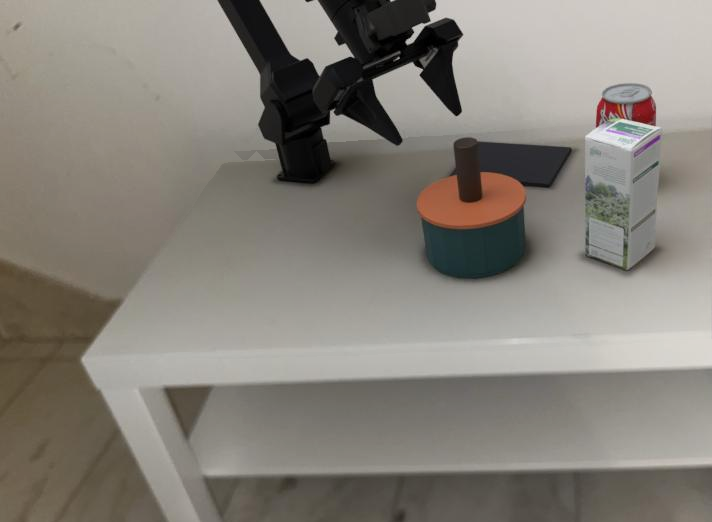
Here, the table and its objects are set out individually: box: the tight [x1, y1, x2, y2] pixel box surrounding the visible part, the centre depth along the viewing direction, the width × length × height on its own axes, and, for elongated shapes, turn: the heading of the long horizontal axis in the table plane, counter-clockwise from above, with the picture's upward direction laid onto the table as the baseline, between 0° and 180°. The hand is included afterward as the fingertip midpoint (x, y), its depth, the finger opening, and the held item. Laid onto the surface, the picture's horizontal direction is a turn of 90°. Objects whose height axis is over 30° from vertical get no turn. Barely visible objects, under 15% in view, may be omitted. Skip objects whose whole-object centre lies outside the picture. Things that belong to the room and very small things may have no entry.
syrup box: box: [584, 117, 663, 271], centre depth 81 cm, size 6×6×14 cm
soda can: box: [595, 82, 657, 129], centre depth 94 cm, size 7×7×12 cm
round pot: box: [420, 205, 527, 279], centre depth 87 cm, size 11×11×6 cm
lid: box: [416, 136, 527, 229], centre depth 83 cm, size 12×12×8 cm
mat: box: [449, 140, 572, 188], centre depth 106 cm, size 14×11×1 cm
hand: (430, 128), depth 86 cm, fingers open, 9 cm apart
